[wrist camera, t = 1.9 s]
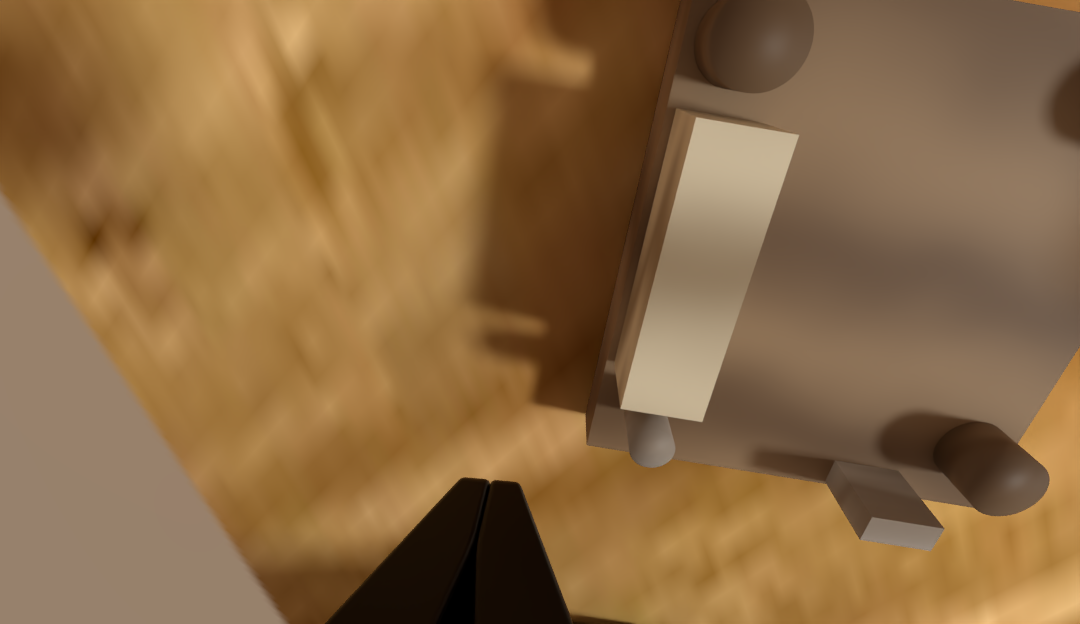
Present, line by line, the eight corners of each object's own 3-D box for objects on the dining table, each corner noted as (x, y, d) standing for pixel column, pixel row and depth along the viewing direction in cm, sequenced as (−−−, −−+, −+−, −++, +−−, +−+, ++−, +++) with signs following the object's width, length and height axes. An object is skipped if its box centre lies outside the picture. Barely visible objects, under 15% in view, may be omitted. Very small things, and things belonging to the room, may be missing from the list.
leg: (685, 374, 19) (702, 421, 17) (614, 362, 19) (620, 408, 17) (762, 122, 16) (799, 134, 13) (676, 108, 16) (696, 117, 13)
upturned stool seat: (944, 472, 23) (1036, 574, 18) (585, 414, 23) (588, 502, 18) (1193, 47, 16) (1433, 42, 12) (690, -41, 16) (736, -82, 12)
